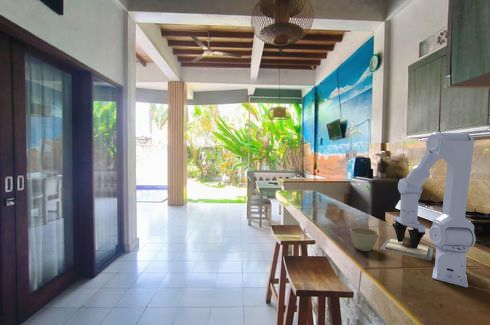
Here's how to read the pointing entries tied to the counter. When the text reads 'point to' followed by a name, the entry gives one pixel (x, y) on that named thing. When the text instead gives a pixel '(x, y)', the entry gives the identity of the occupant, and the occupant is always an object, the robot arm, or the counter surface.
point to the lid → (407, 247)
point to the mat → (429, 254)
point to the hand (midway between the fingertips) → (407, 244)
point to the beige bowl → (364, 238)
